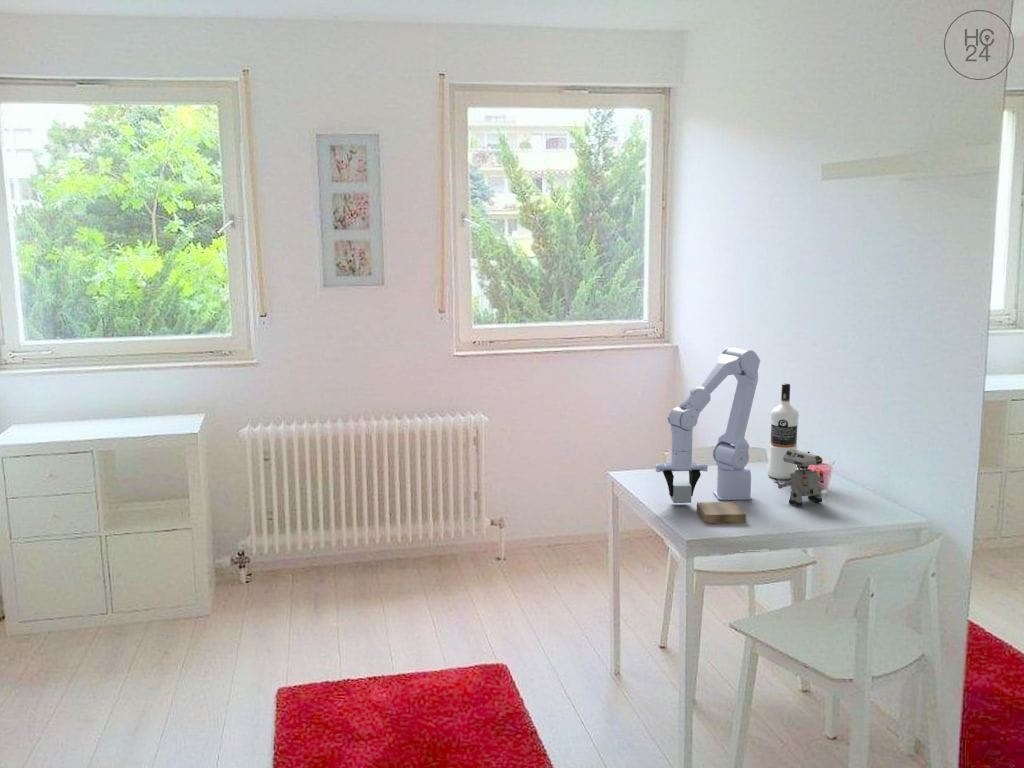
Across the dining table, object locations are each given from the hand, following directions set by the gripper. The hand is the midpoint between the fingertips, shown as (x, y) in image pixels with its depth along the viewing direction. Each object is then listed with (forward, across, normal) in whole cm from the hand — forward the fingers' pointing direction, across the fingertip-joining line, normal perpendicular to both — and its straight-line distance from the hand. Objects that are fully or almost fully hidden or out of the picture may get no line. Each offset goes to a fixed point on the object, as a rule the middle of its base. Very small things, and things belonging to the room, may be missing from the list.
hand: (680, 495), depth 265 cm
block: (+1, 0, 0) cm, 1 cm away
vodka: (+3, -38, -29) cm, 48 cm away
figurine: (+3, -35, -2) cm, 35 cm away
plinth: (+3, -9, +11) cm, 14 cm away
